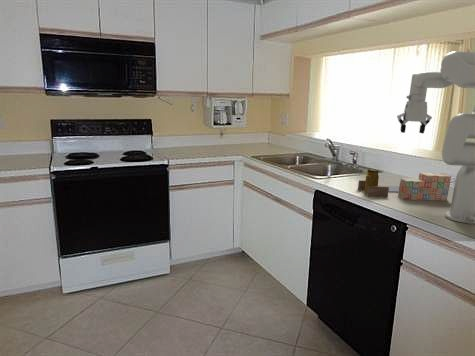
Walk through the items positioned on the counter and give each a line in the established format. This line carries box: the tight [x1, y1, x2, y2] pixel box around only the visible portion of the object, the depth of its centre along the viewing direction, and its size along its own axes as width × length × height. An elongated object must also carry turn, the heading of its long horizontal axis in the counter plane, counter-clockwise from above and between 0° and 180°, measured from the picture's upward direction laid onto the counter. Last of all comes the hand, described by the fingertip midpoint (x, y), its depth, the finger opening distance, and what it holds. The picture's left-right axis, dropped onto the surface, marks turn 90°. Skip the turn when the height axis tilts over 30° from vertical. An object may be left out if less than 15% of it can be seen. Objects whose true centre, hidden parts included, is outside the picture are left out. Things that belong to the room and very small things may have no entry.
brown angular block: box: [357, 179, 389, 198], centre depth 180 cm, size 13×10×5 cm
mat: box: [387, 185, 399, 193], centre depth 189 cm, size 12×12×1 cm
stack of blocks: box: [397, 172, 452, 201], centre depth 173 cm, size 21×6×12 cm, turn 92°
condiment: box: [363, 168, 380, 195], centre depth 179 cm, size 7×8×12 cm
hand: (412, 132), depth 181 cm, fingers open, 9 cm apart
